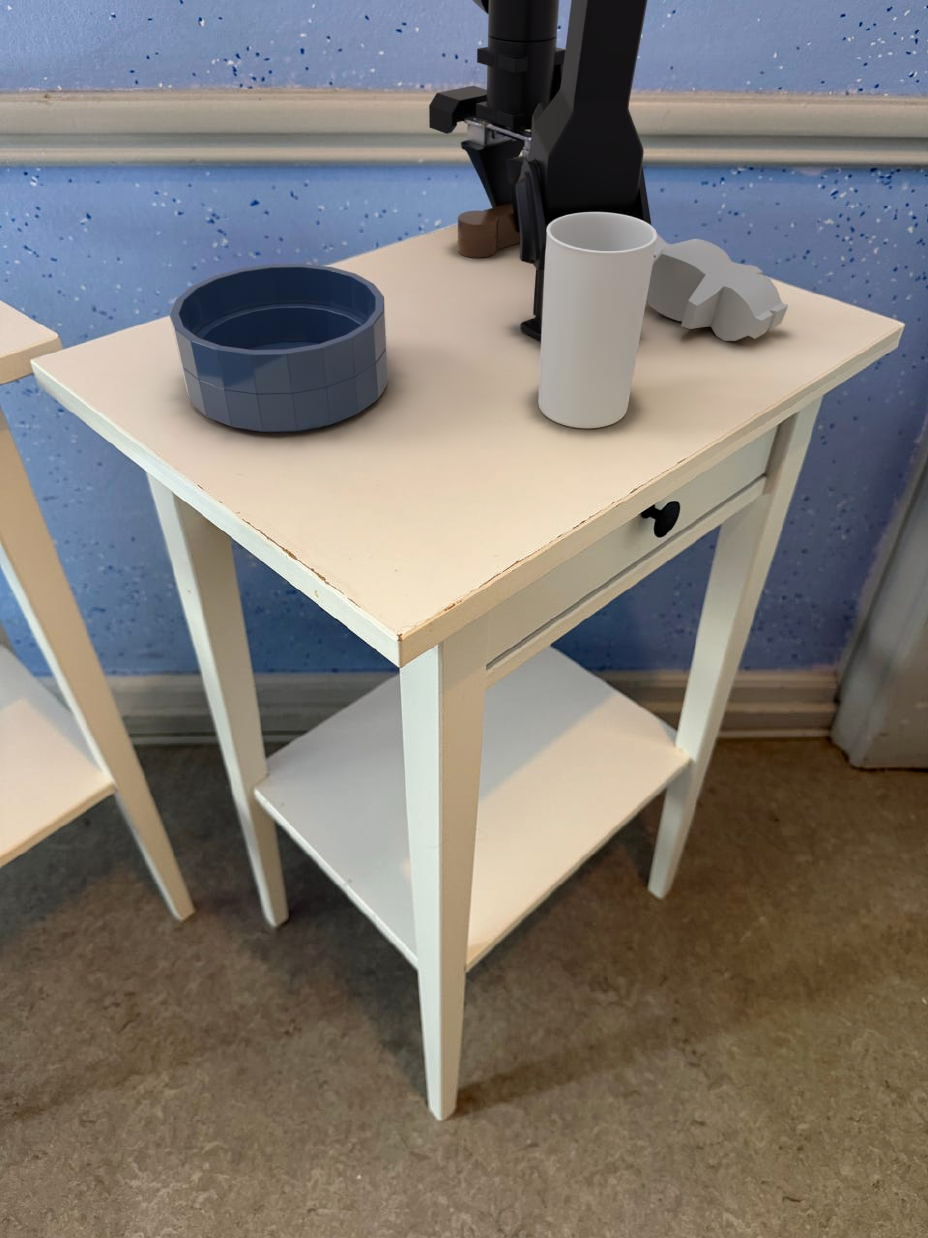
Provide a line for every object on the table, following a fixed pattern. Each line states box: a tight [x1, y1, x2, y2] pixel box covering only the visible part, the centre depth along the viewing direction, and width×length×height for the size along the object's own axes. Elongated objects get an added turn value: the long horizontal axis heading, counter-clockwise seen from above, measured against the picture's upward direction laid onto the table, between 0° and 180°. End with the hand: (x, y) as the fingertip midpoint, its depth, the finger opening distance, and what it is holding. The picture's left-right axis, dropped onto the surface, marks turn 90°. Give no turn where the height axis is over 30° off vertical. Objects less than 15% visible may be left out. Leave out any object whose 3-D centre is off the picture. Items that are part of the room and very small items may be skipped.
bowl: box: [169, 263, 389, 433], centre depth 63 cm, size 14×14×6 cm
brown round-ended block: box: [457, 202, 520, 259], centre depth 85 cm, size 4×9×3 cm, turn 130°
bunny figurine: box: [646, 233, 789, 342], centre depth 73 cm, size 10×5×15 cm
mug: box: [537, 212, 658, 429], centre depth 61 cm, size 10×7×12 cm, turn 142°
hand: (513, 228), depth 86 cm, fingers closed on brown round-ended block, 2 cm apart
